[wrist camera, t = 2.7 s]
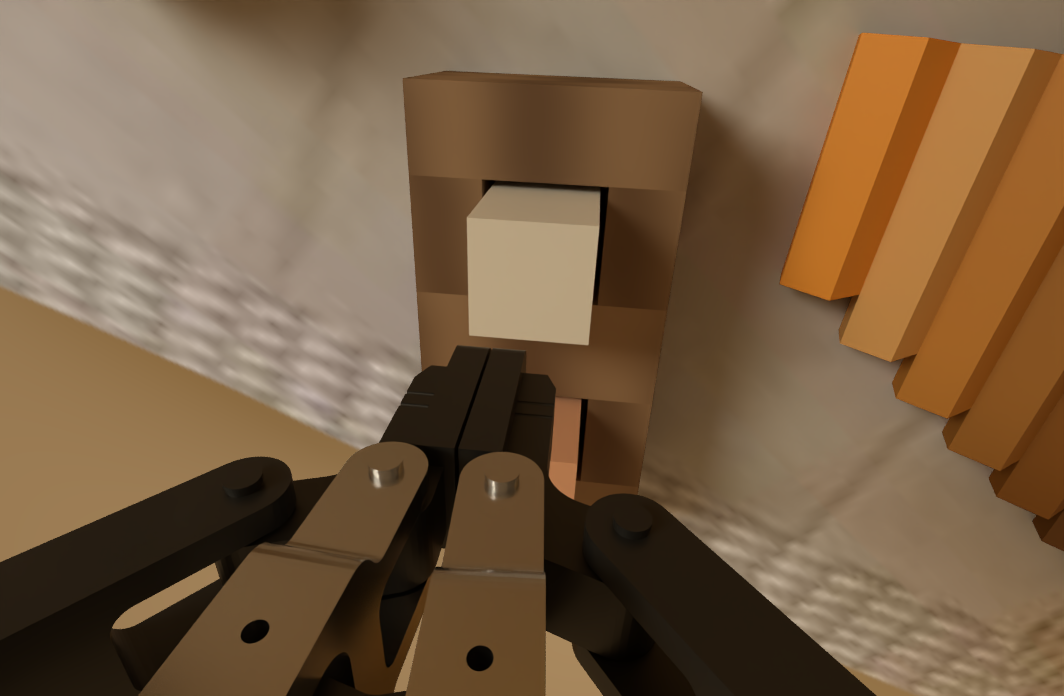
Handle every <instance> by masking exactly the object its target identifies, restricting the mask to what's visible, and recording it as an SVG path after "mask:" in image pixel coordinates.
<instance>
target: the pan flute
mask: <svg viewBox="0 0 1064 696" xmlns="http://www.w3.org/2000/svg"><path fill="white" fill-rule="evenodd" d="M780 284H781V285H784V286H787V287H790V288H793V289H796V290H799V291H802V292H805V293H808V294H811V295H814V296H817V297H820V298H823V299H826V300H829V301H830V300H835V299H840V298H845V297H850V296H852V298H851V300H850V303H849V305H848V308H847V310H846V313H845V315H844V318H843V321H842V323H841V326H840V328H839V339H840V344H843V345H846V346H849V347H851V348H854V349H857V350H860V351H862V352H865V353H868V354H870V355H873V356H876V357H879V358H881V359H884V360H887V361H889V362H892V361H895V360H899V359H902V358H904V359H903V361H902V363H901V365H900V367H899V369H898V371H897V374H896V376H895V378H894V380H893V382H892V384H893V388H894V393H895V397H896V398H897V399H899V400H902V401H904V402H907V403H909V404H912V405H914V406H917V407H919V408H922V409H924V410H927V411H929V412H932V413H935V414H937V415H940V416H942V417H945V418H947V419H948V418H949V420H948V422H947V424H946V426H945V427H944V429H943V431H942V434H943V436H944V439H945V442H946V445H947V448H948V449H949V450H951V451H954V452H956V453H958V454H961V455H963V456H965V457H968V458H970V459H972V460H975V461H977V462H980V463H982V464H984V465H987V466H989V467H991V468H994V470H993V472H992V473H991V475H990V477H989V480H990V483H991V485H992V487H993V490H994V492H995V495H996V497H998V498H1001V499H1003V500H1005V501H1007V502H1010V503H1012V504H1014V505H1016V506H1019V507H1021V508H1023V509H1025V510H1028V511H1030V512H1032V513H1034V514H1037V515H1036V517H1035V518H1034V519H1033V521H1032V522H1033V524H1034V526H1035V528H1036V530H1037V532H1038V534H1039V537H1040V539H1041V541H1043V542H1045V543H1047V544H1049V545H1052V546H1054V547H1056V548H1058V549H1060V550H1062V551H1064V54H1058V53H1053V52H1048V51H1043V50H1037V49H1028V48H1015V47H1002V46H989V45H976V44H963V43H956V42H951V41H945V40H939V39H934V38H926V37H913V36H899V35H886V34H872V33H861V34H860V35H859V37H858V40H857V43H856V46H855V49H854V53H853V56H852V59H851V62H850V65H849V68H848V71H847V74H846V77H845V80H844V83H843V86H842V89H841V92H840V95H839V98H838V101H837V105H836V108H835V111H834V114H833V117H832V120H831V123H830V126H829V129H828V132H827V135H826V138H825V141H824V144H823V147H822V150H821V153H820V157H819V160H818V163H817V166H816V169H815V172H814V175H813V178H812V181H811V184H810V187H809V190H808V193H807V196H806V199H805V202H804V205H803V209H802V212H801V215H800V218H799V221H798V224H797V227H796V230H795V233H794V236H793V239H792V242H791V245H790V248H789V251H788V254H787V257H786V261H785V264H784V267H783V270H782V273H781V278H780Z"/></svg>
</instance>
